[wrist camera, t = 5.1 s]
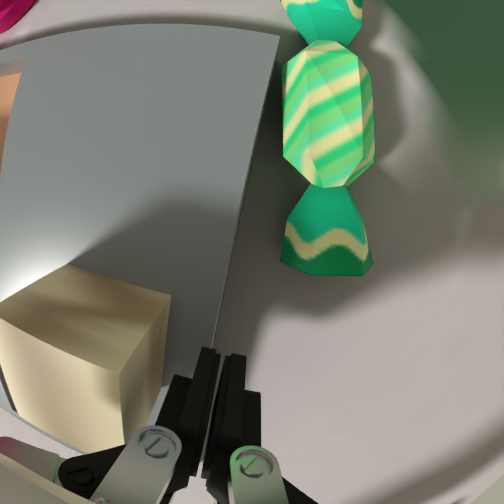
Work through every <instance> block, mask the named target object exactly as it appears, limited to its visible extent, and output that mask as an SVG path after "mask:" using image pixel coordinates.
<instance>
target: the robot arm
mask: <svg viewBox="0 0 504 504" xmlns="http://www.w3.org/2000/svg"><path fill="white" fill-rule="evenodd" d="M220 358H221V354H217V353H216V349H212V348H208V347H203V346H202V348H201V351H200V355H199V358H198V361H197V365H196V368H195V371H194V375H193V378H188V377H184V376H181V375H177V374H174V376H173V378H172V381H171V383H170V386H169V389H168V391H167V394H166V396H165V399H164V402H163V404H162V407H161V410H160V412H159V415H158V418H157V420H156V423H155V425H150V426H145V427H142V428H140V429H138V430H137V431H136V432H135V433H134V435H133V436H132V438H131V439H130V441H129V442H128V443H127V444H124V445H121V446H117V447H113V448H110V449H106V450H102V451H98V452H94V453H90V454H85V455H81V456H76V457H72V458H69V459H65V458H62V457H60V456H59V454H56V453H53V452H49V451H46V450H43V449H40V448H37V447H34V446H32V445H29V444H26V443H24V442H21V441H19V440H16V439H14V438H11V437H6V436H5V437H0V504H171V503H172V500H173V498H174V496H175V493H176V491H178V490H180V489H182V488H185V487H187V486H188V481H189V476H194V477H196V474H197V470H198V466H199V462H200V457H201V453H202V449H203V445H204V440H205V436H206V432H207V427H208V421H209V416H210V411H211V405H212V400H213V395H214V389H215V384H216V379H217V374H218V368H219V363H220ZM245 372H246V356H244V355H239V354H234V353H232V355H231V357H230V356H225V360H224V364H223V368H222V372H221V377H220V381H219V385H218V389H217V393H216V397H215V402H214V406H213V411H212V417H211V422H210V428H209V433H208V439H207V445H206V451H205V456H204V462H203V468H202V474H201V478H204V479H207V480H206V486H207V491H208V492H209V493H210V494H211V495H212V496H213V497H214V498H215V499H214V504H318V503H317V502H315V501H314V500H313V499H311V498H310V497H308V496H307V495H306V494H304V493H303V492H301V491H300V490H299V489H297V488H296V487H295V486H294V485H292V484H291V483H290V482H288V481H287V480H286V479H285V478H283V477H282V475H281V471H280V467H279V463H278V461H277V459H276V457H275V456H274V455H273V454H272V453H271V452H269V451H268V450H266V449H264V448H261V394H260V392H254V391H249V390H244V389H245Z"/></svg>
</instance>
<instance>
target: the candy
mask: <svg viewBox="0 0 504 504" xmlns="http://www.w3.org/2000/svg"><path fill="white" fill-rule="evenodd" d="M280 2H281V4H282V5H283V7H284V9H285V11H286V13H287V14H288V16H289V18H290V20H291V22H292V23H293V24H294V26H295V27H296V29H297V30H298V31H299V33H300V34H301V36H302V37H303V38H304V40H305V41H306V42H307V44H308V45H309V46H307V47H306V48H305V49H303V50H302V51H301V52H299V53H298V54H297V55H295V56H294V57H293V58H291V59H290V60H289V61H287V62H286V63H285V64H283V65H282V66H281V70H282V105H283V157H284V158H285V159H286V160H287V161H289V162H290V163H291V164H292V165H293V166H294V167H295V168H296V169H297V170H298V171H299V172H300V173H301V174H302V175H303V176H304V177H305V178H306V179H307V180H308V181H309V182H310V183H311V184H310V185H309V187H308V188H307V190H306V191H305V193H304V194H303V196H302V197H301V199H300V200H299V202H298V203H297V205H296V206H295V208H294V209H293V211H292V212H291V214H290V215H289V217H288V218H287V222H286V228H285V235H284V241H283V247H282V253H281V259H280V261H281V262H283V263H285V264H287V265H289V266H291V267H293V268H295V269H298V270H300V271H302V272H304V273H306V274H308V275H325V276H363V275H364V274H365V272H366V271H367V270H368V269H369V268H370V266H371V265H372V264H373V262H372V257H371V252H370V248H369V244H368V239H367V235H366V231H365V227H364V223H363V220H362V217H361V215H360V213H359V211H358V208H357V206H356V204H355V202H354V200H353V197H352V195H351V193H350V191H349V189H348V186H349V185H350V184H351V183H352V182H353V181H354V180H355V179H357V178H358V177H359V176H360V175H361V174H362V173H363V172H364V171H365V170H366V169H367V168H368V167H369V166H370V165H372V164H373V163H374V162H375V138H374V113H373V97H372V84H371V75H370V73H369V72H368V70H367V69H366V67H365V66H364V65H363V63H362V62H361V61H360V59H359V58H358V57H357V56H356V55H355V54H353V53H352V52H351V51H349V50H348V49H346V48H347V46H348V45H349V44H350V42H351V41H352V39H353V38H354V37H355V35H356V34H357V33H358V31H359V30H360V29H361V27H362V0H280Z"/></svg>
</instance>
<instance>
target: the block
mask: <svg viewBox="0 0 504 504" xmlns="http://www.w3.org/2000/svg"><path fill="white" fill-rule="evenodd" d="M171 297H172V295H169V294H165V293H162V292H158V291H154V290H151V289H147V288H144V287H140V286H137V285H133V284H130V283H126V282H123V281H120V280H116V279H113V278H110V277H106V276H103V275H100V274H97V273H94V272H90V271H87V270H84V269H81V268H78V267H75V266H72V265H69V264H66V265H64V266H62V267H60V268H58V269H56V270H55V271H53V272H51V273H49V274H47V275H46V276H44V277H42V278H40V279H38V280H37V281H35V282H33V283H31V284H30V285H28V286H26V287H25V288H23V289H21V290H20V291H18V292H16V293H14V294H13V295H11V296H9V297H8V298H6V299H5V300H3V301H1V302H0V364H1V368H2V371H3V374H4V377H5V380H6V383H7V386H8V389H9V391H10V394H11V397H12V399H13V402H14V404H15V407H16V409H17V412H18V414H19V416H20V417H22V418H23V419H25V420H26V421H28V422H30V423H31V424H33V425H35V426H36V427H38V428H40V429H41V430H43V431H45V432H47V433H48V434H50V435H52V436H54V437H56V438H57V439H59V440H61V441H63V442H65V443H67V444H69V445H71V446H73V447H75V448H77V449H79V450H81V451H84V452H86V453H88V454H90V453H94V452H98V451H102V450H106V449H110V448H113V447H117V446H121V445H124V444H127V443H128V442H129V441H130V439H131V438H132V436H133V435H134V433H135V432H136V431H137V430H138V429H140V428H142V427H145V426H146V424H147V421H148V419H149V417H150V414H151V412H152V409H153V407H154V405H155V402H156V400H157V397H158V395H159V393H160V390H161V388H162V375H163V364H164V354H165V345H166V336H167V327H168V319H169V311H170V304H171Z"/></svg>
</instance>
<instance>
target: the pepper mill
mask: <svg viewBox="0 0 504 504" xmlns="http://www.w3.org/2000/svg"><path fill="white" fill-rule="evenodd" d="M35 1H36V0H0V34H1V33H3V32H5V31H6V30H8V29H9V28H11V27H12V26H13V25H14V24H15V23H16V22H17V21H18V20H19V19H20V18H21V17H22V16H23V15H24V14H25V13H26V12H27V11H28V9H29V8H30V7H31V6H32V5H33V3H34V2H35Z"/></svg>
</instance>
